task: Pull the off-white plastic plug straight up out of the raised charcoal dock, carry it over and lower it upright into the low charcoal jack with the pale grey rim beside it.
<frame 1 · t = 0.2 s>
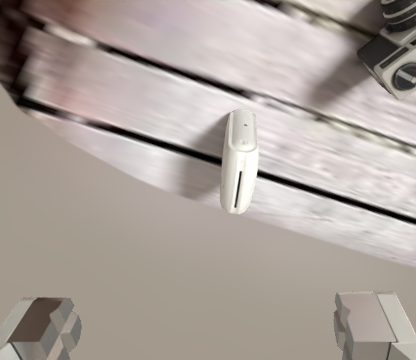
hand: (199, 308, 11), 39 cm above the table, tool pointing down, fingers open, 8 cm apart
photo printer: (238, 139, 51), on the table
camera: (410, 10, 40), on the table
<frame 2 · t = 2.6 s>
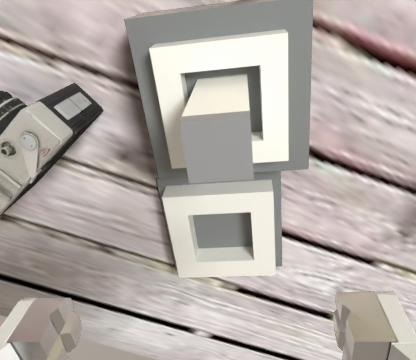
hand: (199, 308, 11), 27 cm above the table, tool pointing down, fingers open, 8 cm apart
plug: (224, 100, 29), point 6 cm above the table, touching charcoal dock
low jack: (223, 222, 43), on the table
camera: (44, 122, 38), on the table
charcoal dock: (226, 82, 34), on the table
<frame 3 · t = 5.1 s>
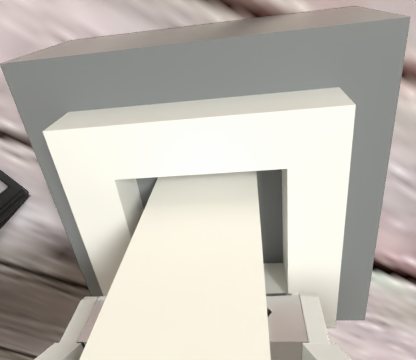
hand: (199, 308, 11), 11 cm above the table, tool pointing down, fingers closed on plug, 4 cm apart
plug: (212, 213, 15), point 6 cm above the table, touching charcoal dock, gripper
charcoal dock: (219, 153, 20), on the table
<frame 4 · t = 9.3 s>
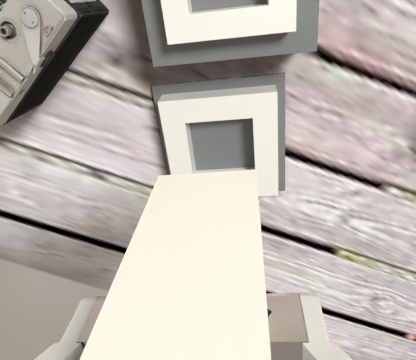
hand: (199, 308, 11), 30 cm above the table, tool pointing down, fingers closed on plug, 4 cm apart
plug: (211, 213, 15), point 25 cm above the table, touching gripper
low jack: (222, 139, 40), on the table
camera: (46, 32, 36), on the table
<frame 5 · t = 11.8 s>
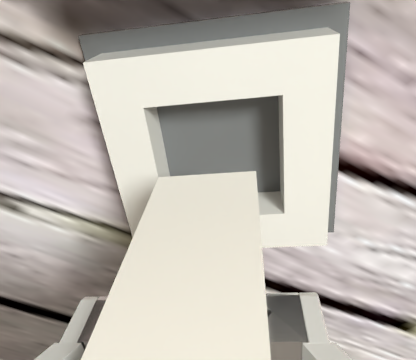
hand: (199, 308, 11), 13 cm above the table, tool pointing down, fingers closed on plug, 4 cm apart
plug: (211, 214, 15), point 8 cm above the table, touching gripper
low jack: (221, 141, 22), on the table
when the fingers open (7 cm above the table, at t = 13.8 s): plug stays where it is, resting on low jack.
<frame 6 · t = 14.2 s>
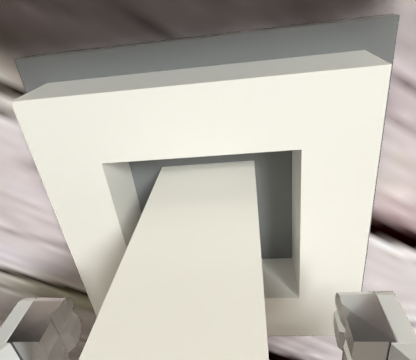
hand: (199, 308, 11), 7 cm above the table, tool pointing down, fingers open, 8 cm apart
plug: (212, 202, 16), point 1 cm above the table, touching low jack
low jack: (214, 195, 16), on the table
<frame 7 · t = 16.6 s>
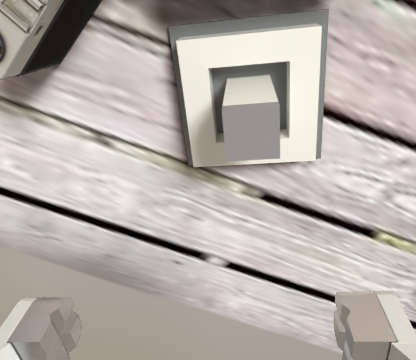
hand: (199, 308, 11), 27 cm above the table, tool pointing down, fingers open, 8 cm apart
plug: (249, 97, 34), point 1 cm above the table, touching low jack
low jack: (249, 95, 34), on the table
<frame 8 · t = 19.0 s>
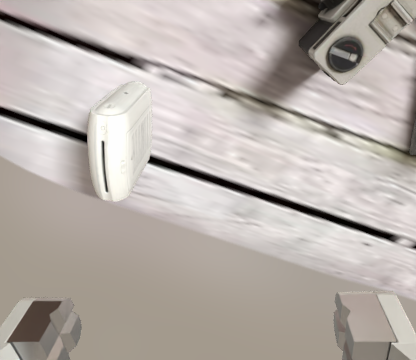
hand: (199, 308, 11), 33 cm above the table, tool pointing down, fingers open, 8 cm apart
photo printer: (137, 120, 43), on the table
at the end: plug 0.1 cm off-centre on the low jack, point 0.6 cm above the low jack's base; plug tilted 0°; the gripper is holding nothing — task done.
